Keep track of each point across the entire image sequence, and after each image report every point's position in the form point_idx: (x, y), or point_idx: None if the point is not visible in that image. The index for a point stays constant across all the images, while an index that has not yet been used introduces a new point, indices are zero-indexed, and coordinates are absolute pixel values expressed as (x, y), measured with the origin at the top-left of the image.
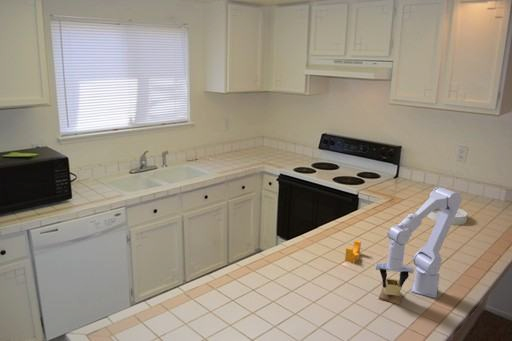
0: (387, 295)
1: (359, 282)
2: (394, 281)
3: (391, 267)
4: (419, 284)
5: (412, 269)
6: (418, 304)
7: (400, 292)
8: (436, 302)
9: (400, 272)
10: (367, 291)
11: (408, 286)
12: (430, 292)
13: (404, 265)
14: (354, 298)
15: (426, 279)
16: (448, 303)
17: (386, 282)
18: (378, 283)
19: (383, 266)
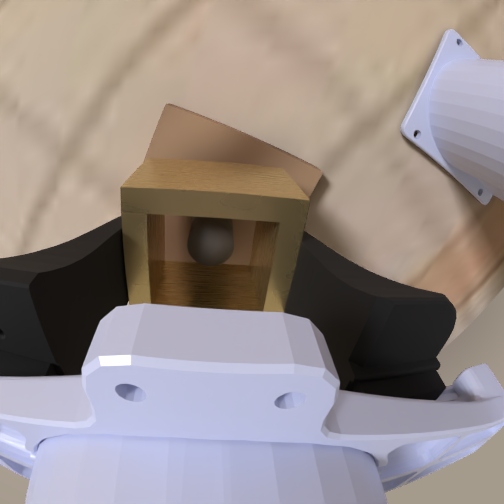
0: (182, 225)
1: (27, 37)
2: (250, 214)
3: None
4: (476, 163)
5: (459, 457)
6: (370, 271)
7: (307, 168)
8: (463, 240)
9: (347, 323)
10: (57, 151)
11: (405, 49)
12: (486, 185)
13: (456, 434)
14: (3, 251)
15: None
16: (496, 243)
17: (137, 288)
18: (165, 3)
19: (7, 442)
